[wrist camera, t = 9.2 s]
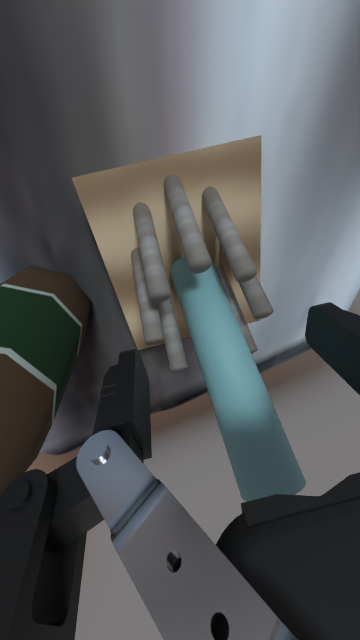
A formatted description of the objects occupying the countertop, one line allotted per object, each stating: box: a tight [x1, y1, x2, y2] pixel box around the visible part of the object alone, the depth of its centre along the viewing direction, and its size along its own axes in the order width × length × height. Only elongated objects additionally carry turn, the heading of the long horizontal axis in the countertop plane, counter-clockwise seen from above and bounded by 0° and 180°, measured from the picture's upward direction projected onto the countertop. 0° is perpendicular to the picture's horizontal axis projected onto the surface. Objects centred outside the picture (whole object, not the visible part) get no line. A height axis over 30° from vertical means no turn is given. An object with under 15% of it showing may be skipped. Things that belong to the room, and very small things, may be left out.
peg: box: [170, 256, 306, 502], centre depth 14 cm, size 3×3×14 cm
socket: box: [72, 136, 273, 372], centre depth 16 cm, size 14×12×9 cm
